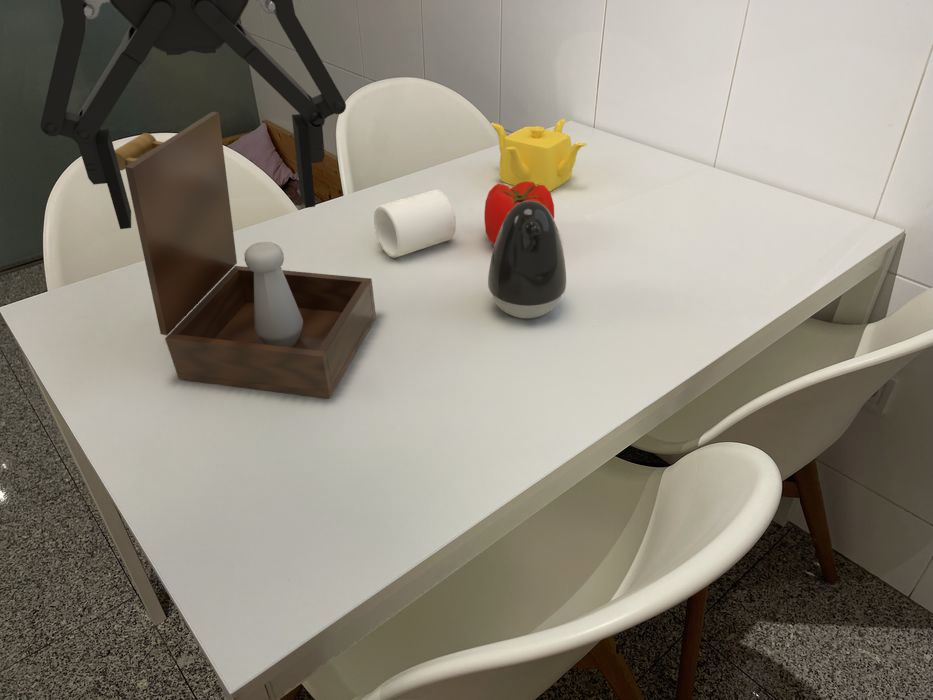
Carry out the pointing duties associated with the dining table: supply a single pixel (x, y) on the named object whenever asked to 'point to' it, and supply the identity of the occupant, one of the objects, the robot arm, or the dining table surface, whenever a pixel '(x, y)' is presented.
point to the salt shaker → (272, 297)
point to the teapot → (536, 155)
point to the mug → (414, 223)
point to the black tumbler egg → (527, 262)
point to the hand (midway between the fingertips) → (220, 210)
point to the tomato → (511, 203)
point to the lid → (181, 215)
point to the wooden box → (266, 366)
